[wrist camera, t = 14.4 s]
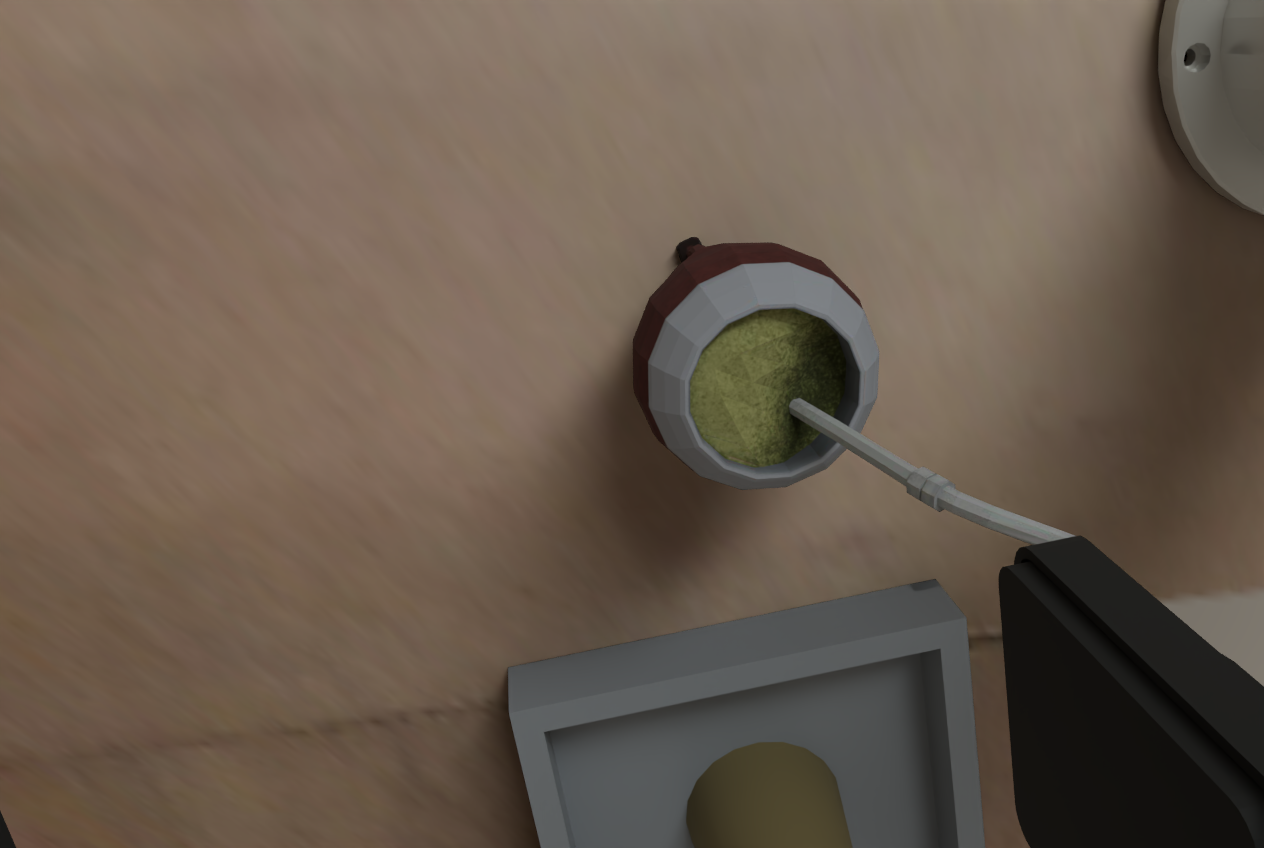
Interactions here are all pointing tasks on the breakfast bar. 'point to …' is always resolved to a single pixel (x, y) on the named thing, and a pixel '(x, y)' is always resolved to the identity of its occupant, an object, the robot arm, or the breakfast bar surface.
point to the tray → (760, 721)
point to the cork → (767, 801)
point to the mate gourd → (774, 377)
